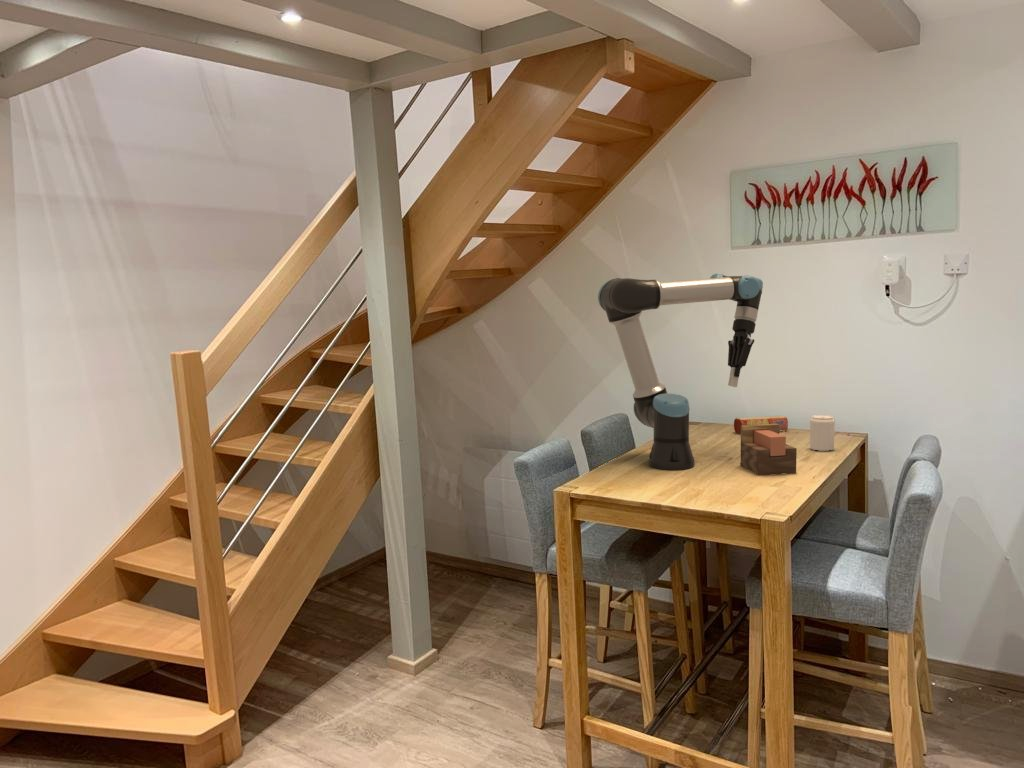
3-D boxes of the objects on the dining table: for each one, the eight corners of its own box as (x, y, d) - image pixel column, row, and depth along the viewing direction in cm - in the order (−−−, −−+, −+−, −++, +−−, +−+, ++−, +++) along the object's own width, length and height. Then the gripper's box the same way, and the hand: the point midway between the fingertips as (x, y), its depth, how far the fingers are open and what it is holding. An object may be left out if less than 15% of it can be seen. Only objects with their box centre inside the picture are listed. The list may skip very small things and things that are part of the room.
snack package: (780, 429, 329) (780, 413, 328) (789, 432, 322) (789, 415, 321) (732, 433, 324) (732, 416, 323) (741, 436, 317) (741, 419, 317)
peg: (751, 447, 266) (751, 429, 266) (765, 446, 267) (765, 428, 266) (770, 456, 253) (770, 437, 252) (785, 455, 253) (785, 436, 253)
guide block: (740, 465, 267) (740, 425, 265) (775, 463, 268) (776, 423, 267) (758, 475, 253) (759, 433, 251) (796, 473, 255) (796, 431, 253)
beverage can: (811, 451, 285) (811, 418, 283) (808, 447, 293) (809, 414, 291) (835, 452, 283) (836, 418, 281) (832, 447, 291) (832, 414, 289)
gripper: (765, 321, 278) (752, 388, 275) (743, 325, 290) (731, 389, 288) (746, 316, 276) (733, 383, 273) (725, 320, 288) (713, 384, 286)
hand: (732, 386), depth 281 cm, fingers closed
